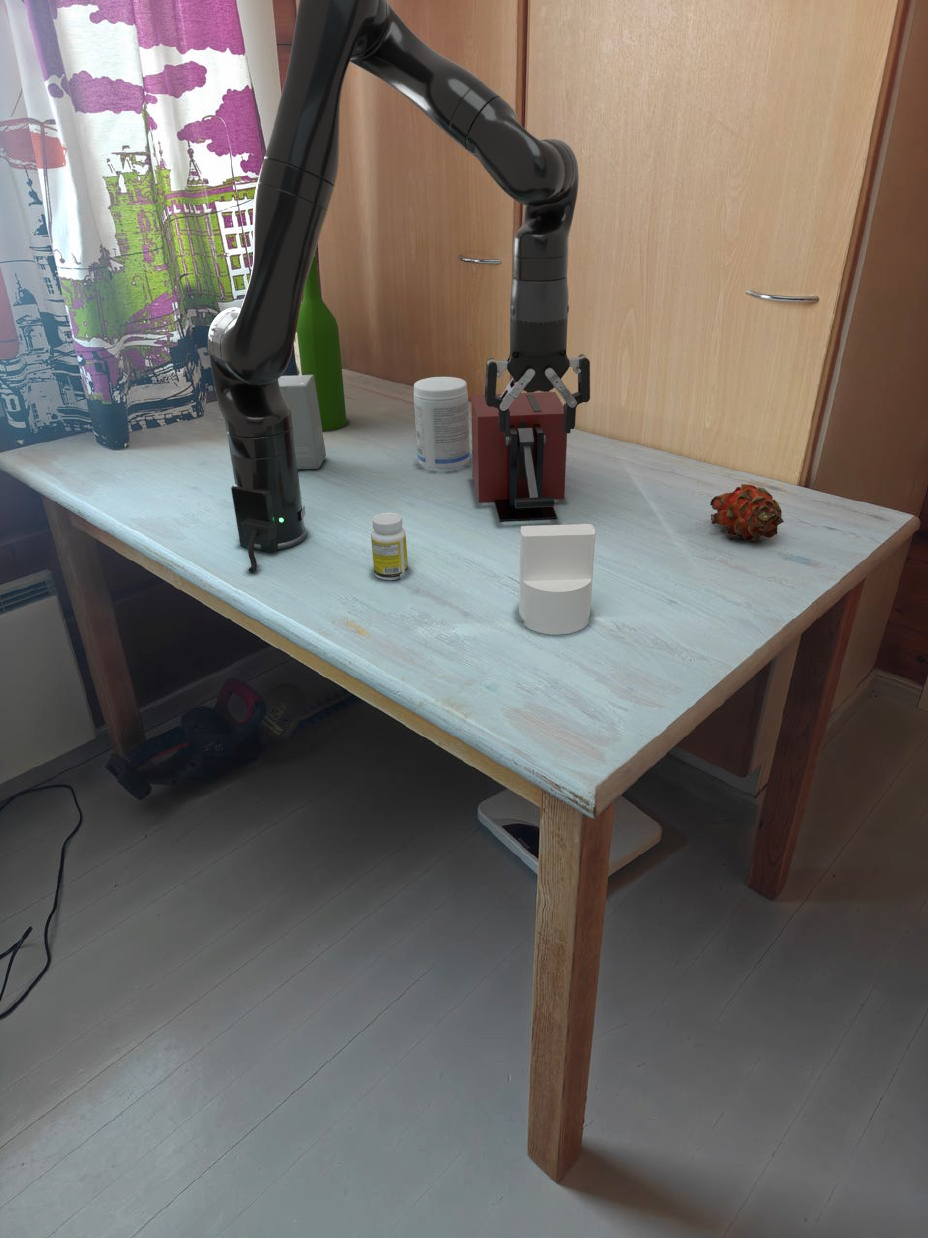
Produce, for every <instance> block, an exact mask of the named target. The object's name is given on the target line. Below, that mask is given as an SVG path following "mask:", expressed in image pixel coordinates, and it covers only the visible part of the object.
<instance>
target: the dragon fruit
mask: <svg viewBox="0 0 928 1238" xmlns="http://www.w3.org/2000/svg"><path fill="white" fill-rule="evenodd" d="M708 504H710V505H709V506H711V509H712V510H714V511H717V512H715V513H711V514H710V521H711V524H712V525H718V526H725V527H727V531H726V534H727V537H728V538H730V539H737V538H739V537H740V536H742V538H743V540H745V541H749V542H758V540H759V539H760V538H761V537H764V538H768V539H771V538H773V537H775V536H777V535H778V527H779V525H781V524H782V523H785V521H784V519H783V517H782V508H781V506H780V504H779V503H778V501H777V500H776V499H774V498H773V495H772V494H771V493H770V492H769V491H768V490H767V489H766V488H765V487H761V486H760V487H757V486H755V485H753V484H748V483H747V484H746V483H742V484H740V486H736V488H735V489H734V491H732V492H725V493H722V494H719V495H715V496H714V497H713V498H712V499H711V500H710V501H709V503H707V505H708Z"/></svg>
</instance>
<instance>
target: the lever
mask: <svg viewBox="0 0 928 1238" xmlns="http://www.w3.org/2000/svg"><path fill="white" fill-rule="evenodd" d="M517 434H518V451H519V453H522V452H523V455H524V462H525V469H526V476H527V483H528V490H529V497H530V498H515V508H532V507H553V508H554V506H555V499H554V497H538V494H537V487H536V480H535V474H534V467H533V460H532V453H531V452H533V447H534V437H533V430H532V428H518V433H517Z"/></svg>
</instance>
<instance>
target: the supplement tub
mask: <svg viewBox="0 0 928 1238" xmlns="http://www.w3.org/2000/svg"><path fill="white" fill-rule="evenodd" d="M467 385H468V384H467V381H466V380H465V379H463V378H461V377H460V378H459V377H456V376H455V377H454V376H433V377H426V378H423V379H419V380H417V381H416V382H415V383H413V407H414V421H415V423H414V424H415V436H416V437H415V438H416V451H417V453H416V454H417V462H418V463H419V464H420V465H422V466H424V467H427V468H432V469H453V468H458V467H459V468H460V467H461V466H464V465H466V464H468V463H469V462H470V460H471V449H470V448H471V446H470V445H471V443H470V415H469V414H470V413H469V392H468V386H467Z"/></svg>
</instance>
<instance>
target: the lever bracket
mask: <svg viewBox="0 0 928 1238" xmlns="http://www.w3.org/2000/svg"><path fill="white" fill-rule="evenodd" d="M533 437H534V447H533V467H534V474H535V480H536V487H537V494H538V497H542V487H543V454H544V444H545V442H546V438H545V435H544V432H543V430H542V428H541V426H540V424H533ZM505 442H506V446H507V499H503V500H494V502H493V503H494V508H495V511H496V515H497V518H498V522H499V523H509V522H510V523H511V522H512V523H513V522H531V521H532V522H533V521H551V520H555V521H557V520H558V516H557V513H556V511H555V508H554V506H553V507H532V508H515V498H517V445H518V434H517V431H516V429H515V426H514V425H510V436H508V437H506V438H505Z"/></svg>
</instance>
